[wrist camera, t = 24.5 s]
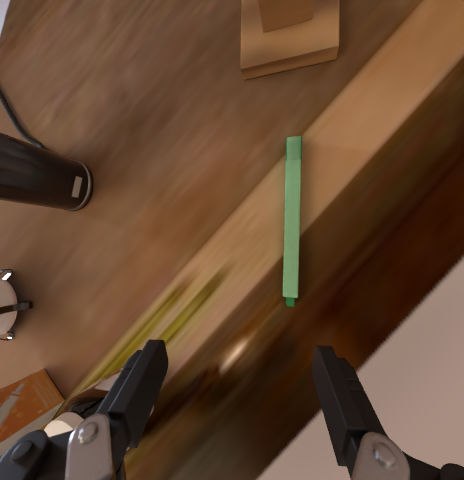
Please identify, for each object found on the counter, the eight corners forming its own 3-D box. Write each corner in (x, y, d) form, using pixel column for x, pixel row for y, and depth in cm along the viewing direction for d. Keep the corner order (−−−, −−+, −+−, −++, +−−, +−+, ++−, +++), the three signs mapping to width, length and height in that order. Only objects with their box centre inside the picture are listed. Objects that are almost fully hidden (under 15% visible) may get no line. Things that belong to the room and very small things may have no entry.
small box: (66, 399, 40) (-38, 469, 28) (51, 420, 41) (-56, 496, 29) (44, 366, 42) (-63, 417, 30) (30, 387, 43) (-78, 445, 31)
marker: (298, 304, 28) (297, 308, 26) (283, 302, 28) (281, 306, 27) (302, 142, 28) (302, 135, 26) (287, 143, 28) (286, 137, 27)
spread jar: (155, 358, 34) (86, 414, 23) (172, 432, 33) (108, 528, 22) (100, 367, 38) (17, 419, 27) (114, 434, 37) (33, 517, 25)
